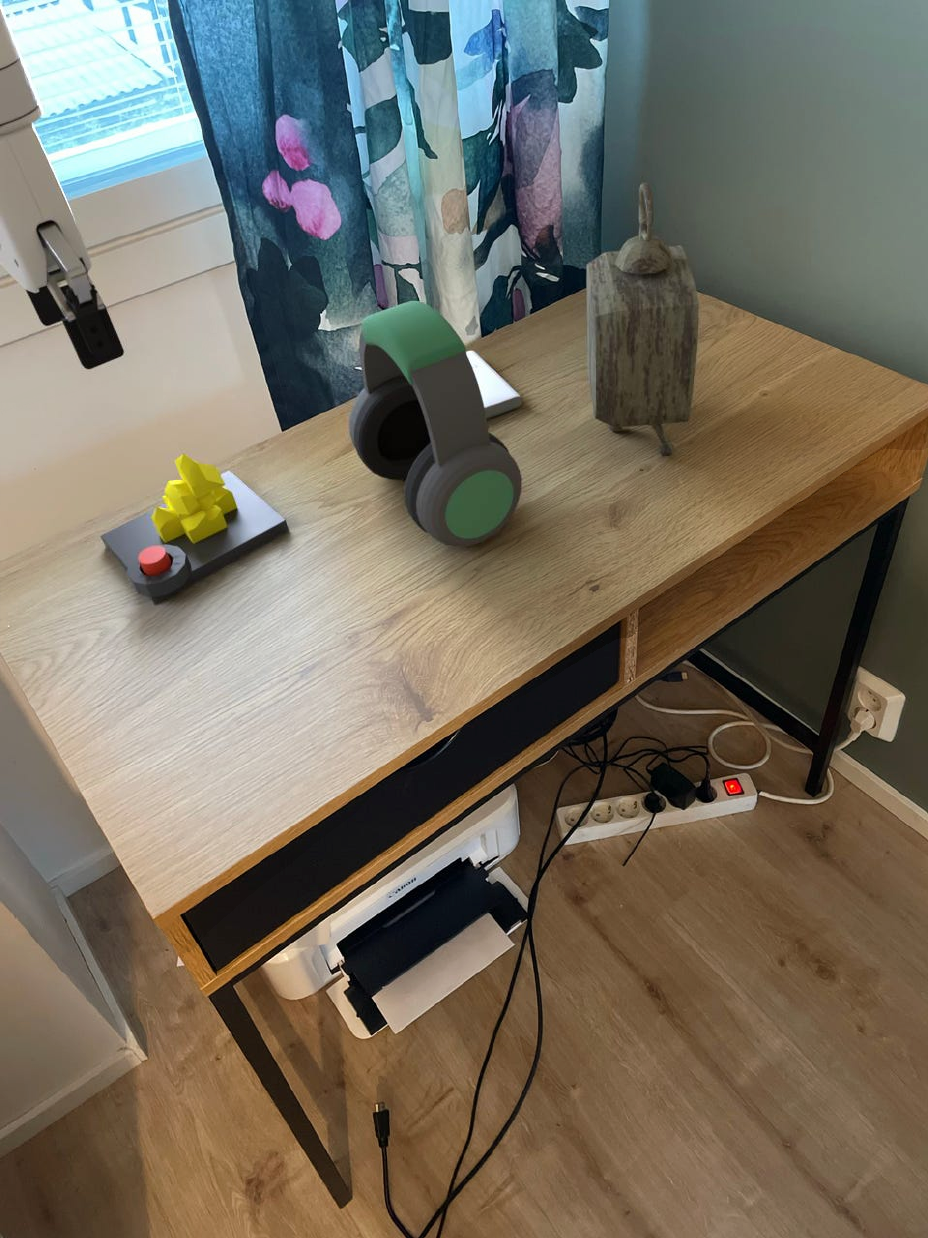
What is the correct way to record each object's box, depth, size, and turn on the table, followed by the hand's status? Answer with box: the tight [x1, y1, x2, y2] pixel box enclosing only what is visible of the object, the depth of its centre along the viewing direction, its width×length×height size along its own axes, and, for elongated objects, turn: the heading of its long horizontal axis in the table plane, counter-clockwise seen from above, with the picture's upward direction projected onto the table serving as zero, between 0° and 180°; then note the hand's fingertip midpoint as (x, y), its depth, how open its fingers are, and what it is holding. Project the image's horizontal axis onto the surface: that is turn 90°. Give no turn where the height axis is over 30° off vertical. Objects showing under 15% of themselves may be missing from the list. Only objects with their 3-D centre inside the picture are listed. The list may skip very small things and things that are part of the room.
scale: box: [100, 470, 290, 605], centre depth 89 cm, size 16×13×3 cm
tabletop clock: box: [585, 181, 699, 457], centre depth 87 cm, size 14×9×25 cm, turn 179°
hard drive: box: [466, 350, 523, 420], centre depth 104 cm, size 2×8×12 cm
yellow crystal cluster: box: [151, 453, 237, 544], centre depth 88 cm, size 6×8×8 cm
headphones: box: [348, 300, 523, 547], centre depth 84 cm, size 19×11×20 cm, turn 29°
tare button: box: [138, 546, 171, 576], centre depth 84 cm, size 3×3×2 cm
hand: (82, 339), depth 71 cm, fingers open, 9 cm apart
